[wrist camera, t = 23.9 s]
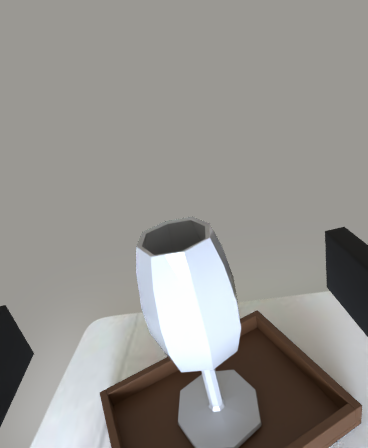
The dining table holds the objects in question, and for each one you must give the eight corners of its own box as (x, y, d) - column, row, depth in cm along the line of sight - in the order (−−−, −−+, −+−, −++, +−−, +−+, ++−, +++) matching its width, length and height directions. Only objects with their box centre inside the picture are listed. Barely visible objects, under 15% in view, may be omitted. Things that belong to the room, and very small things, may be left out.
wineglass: (169, 391, 36) (114, 230, 27) (239, 363, 37) (208, 201, 28) (190, 473, 28) (121, 284, 19) (278, 434, 29) (252, 240, 20)
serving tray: (259, 324, 43) (257, 310, 41) (361, 423, 29) (362, 405, 28) (106, 407, 36) (99, 392, 35) (146, 581, 23) (137, 565, 22)
